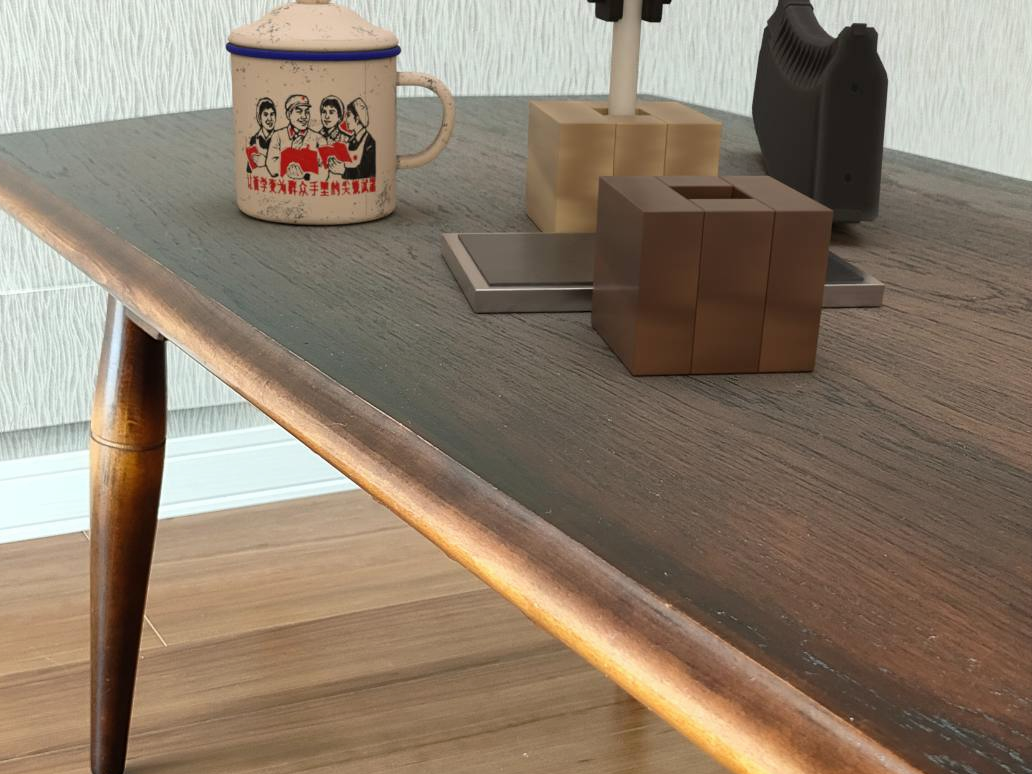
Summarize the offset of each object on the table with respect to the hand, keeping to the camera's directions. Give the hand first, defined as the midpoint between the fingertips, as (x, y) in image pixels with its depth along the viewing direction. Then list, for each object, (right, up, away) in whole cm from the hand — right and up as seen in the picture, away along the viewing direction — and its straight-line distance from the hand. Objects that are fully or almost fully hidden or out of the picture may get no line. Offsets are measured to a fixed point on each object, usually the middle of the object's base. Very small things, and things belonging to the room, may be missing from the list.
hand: (627, 17), depth 72 cm
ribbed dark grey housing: (+12, -5, +16) cm, 20 cm away
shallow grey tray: (0, -14, -6) cm, 15 cm away
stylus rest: (+1, -19, -16) cm, 24 cm away
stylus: (0, -8, +3) cm, 8 cm away
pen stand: (0, -10, +4) cm, 11 cm away
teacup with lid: (-15, -8, +7) cm, 18 cm away
